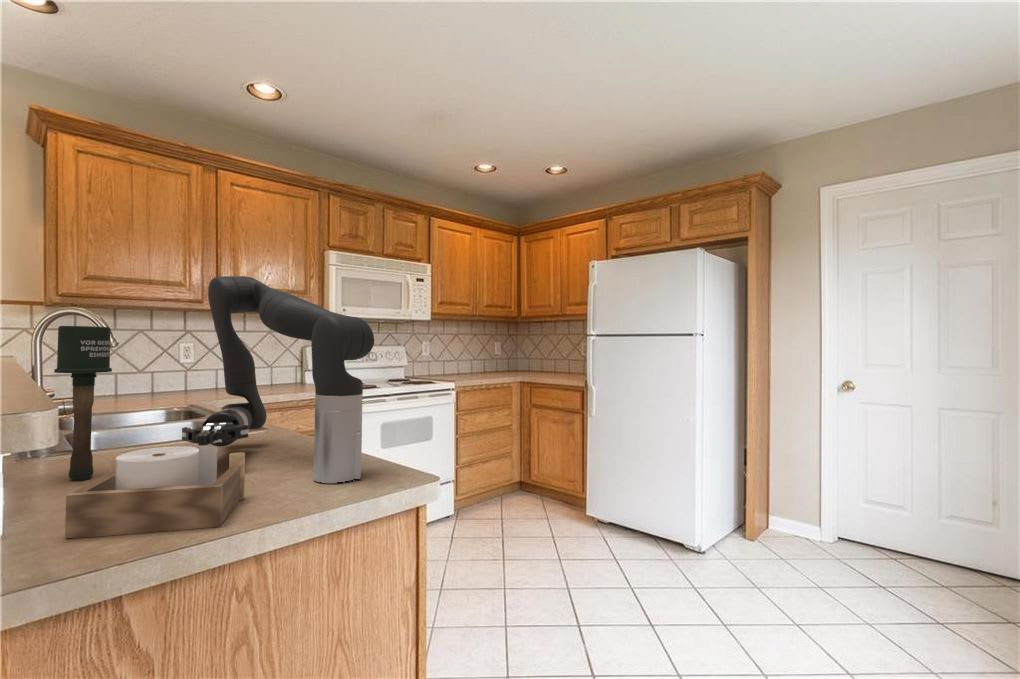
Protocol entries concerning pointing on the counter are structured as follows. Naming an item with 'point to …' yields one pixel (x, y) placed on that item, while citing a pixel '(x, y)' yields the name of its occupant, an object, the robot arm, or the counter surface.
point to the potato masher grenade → (83, 385)
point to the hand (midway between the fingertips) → (202, 440)
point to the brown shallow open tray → (152, 505)
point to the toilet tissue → (166, 467)
